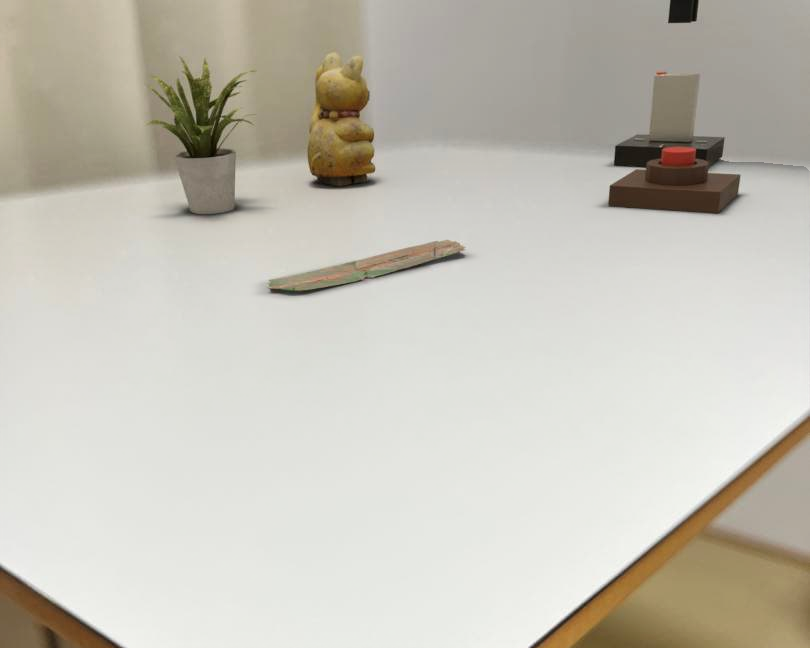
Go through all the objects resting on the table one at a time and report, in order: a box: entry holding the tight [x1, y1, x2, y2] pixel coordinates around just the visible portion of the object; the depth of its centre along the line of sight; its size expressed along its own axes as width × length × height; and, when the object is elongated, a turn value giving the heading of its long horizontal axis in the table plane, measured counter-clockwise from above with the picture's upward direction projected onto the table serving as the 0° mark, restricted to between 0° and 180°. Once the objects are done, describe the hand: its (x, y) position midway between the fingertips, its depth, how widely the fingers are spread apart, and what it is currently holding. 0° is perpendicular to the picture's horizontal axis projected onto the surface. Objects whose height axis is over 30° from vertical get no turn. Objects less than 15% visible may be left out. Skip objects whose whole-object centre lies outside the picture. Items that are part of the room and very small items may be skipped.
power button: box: [661, 147, 696, 166], centre depth 103 cm, size 4×4×2 cm
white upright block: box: [648, 71, 701, 142], centre depth 123 cm, size 6×2×8 cm, turn 62°
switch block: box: [607, 159, 741, 214], centre depth 105 cm, size 12×10×4 cm
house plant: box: [144, 56, 256, 215], centre depth 106 cm, size 14×14×16 cm
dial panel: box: [613, 133, 726, 168], centre depth 126 cm, size 12×10×3 cm
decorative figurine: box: [306, 51, 376, 187], centre depth 118 cm, size 10×8×15 cm
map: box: [267, 239, 466, 292], centre depth 85 cm, size 5×20×1 cm, turn 126°
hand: (682, 21), depth 118 cm, fingers open, 2 cm apart
